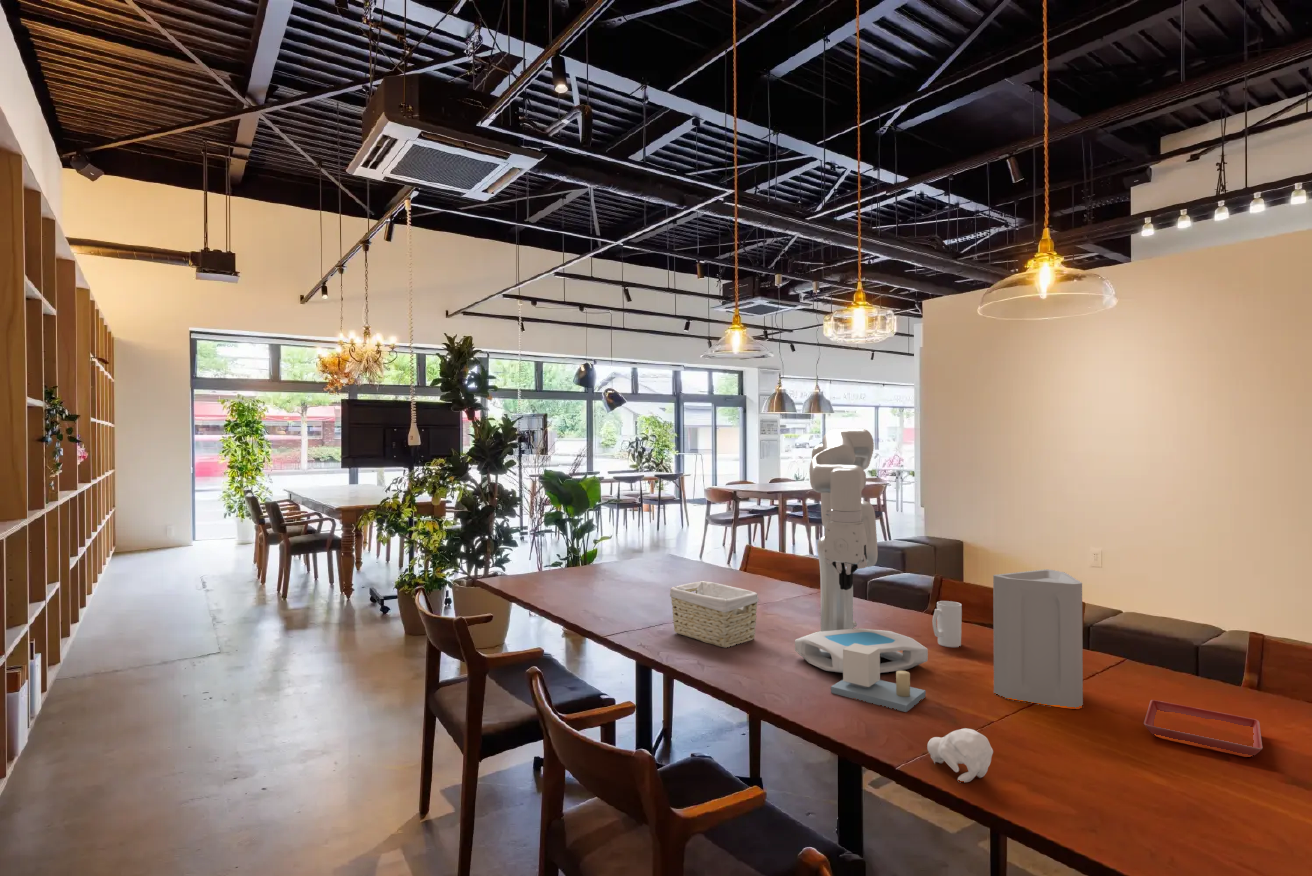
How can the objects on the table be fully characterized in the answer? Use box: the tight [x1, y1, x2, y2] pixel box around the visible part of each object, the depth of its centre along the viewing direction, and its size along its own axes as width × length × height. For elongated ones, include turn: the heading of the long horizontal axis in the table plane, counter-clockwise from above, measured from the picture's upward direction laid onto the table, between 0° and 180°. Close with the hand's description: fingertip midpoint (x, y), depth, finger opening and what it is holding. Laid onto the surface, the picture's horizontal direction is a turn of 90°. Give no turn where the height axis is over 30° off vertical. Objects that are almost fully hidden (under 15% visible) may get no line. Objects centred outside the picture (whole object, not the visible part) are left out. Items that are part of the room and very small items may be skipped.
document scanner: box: [794, 627, 929, 674], centre depth 184 cm, size 21×28×6 cm
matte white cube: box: [842, 643, 881, 687], centre depth 164 cm, size 6×6×8 cm
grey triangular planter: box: [992, 569, 1084, 708], centre depth 159 cm, size 19×15×28 cm
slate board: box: [830, 670, 927, 713], centre depth 161 cm, size 12×18×6 cm, turn 49°
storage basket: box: [669, 580, 760, 649], centre depth 210 cm, size 24×16×15 cm
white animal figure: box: [926, 727, 994, 783], centre depth 124 cm, size 6×8×12 cm
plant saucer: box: [1143, 699, 1263, 756], centre depth 139 cm, size 18×18×3 cm
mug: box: [931, 600, 963, 648], centre depth 201 cm, size 10×7×12 cm, turn 116°
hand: (845, 588), depth 173 cm, fingers closed
